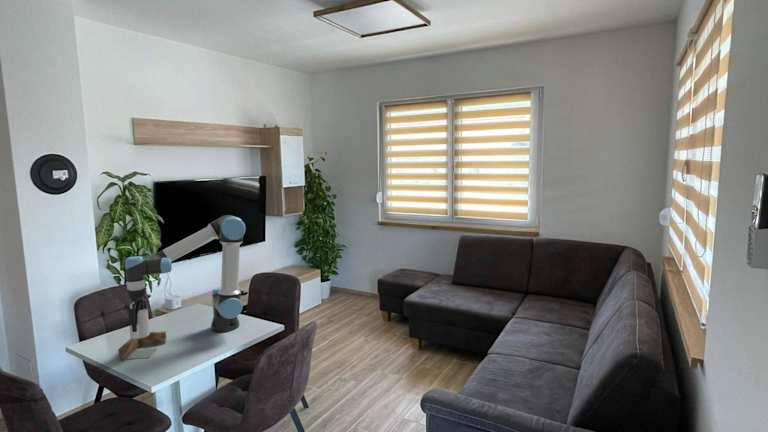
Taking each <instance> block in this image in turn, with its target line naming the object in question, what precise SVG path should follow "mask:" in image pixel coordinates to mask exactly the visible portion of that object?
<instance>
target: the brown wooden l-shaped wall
mask: <svg viewBox="0 0 768 432" xmlns="http://www.w3.org/2000/svg"><path fill="white" fill-rule="evenodd" d="M166 331H167V330H163V331H150V335H148V336H147V337H144V338H140V339H132V338H131V337H130V339H128V340H127V341H126V342H125V343H124V344H123V345H121V346H120V347H119V348H118V350H117V351H118V359H119V361H118V362H125V361H126V360H127V358H128V357H129V356H130V355H131V354H132V353H133V352H134V351H135V350H138V348H139V347H140V346H148V345H151V346H152V345H162V344H164V345H165V344H166V343H168V342H167V341H168V340H167V332H166Z"/></svg>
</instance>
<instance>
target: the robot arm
mask: <svg viewBox="0 0 768 432" xmlns="http://www.w3.org/2000/svg"><path fill="white" fill-rule="evenodd" d="M245 233H246V224H245V222H244V221H243V220H242V219H241V218H240V217H238V216H234V215H232V214H225V215H222V216H221V217H219V218H217V219H215V220H213V221H212V222H210V223H208V224H207V226H206V227H204V228H202V229H200V230H199V231H197V232H194V233H193V234H191V235H189V236H187V237H185V238H183V239H182V240H179V241H177V242H176V243H173V244H172V245H170V246H168V247H165V248H164V249H162V250H160V251H158V252H154V253H152V254H150V255H149V256H148V257H147V259H144V256H142V255H137V256H136V255H135V256H130V257H129V256H128V257H127V258H126V259H125V261H124V265H125V268H124V269H125V270H124V271H125V278H126V279H125V280H126V283H125V284H126V289H127V298H128V299H131V302H130V303H129V304H128V306H127V307H128V325H129V326H130V325H132V336H133V338H139V326H138V324H137V321H138V316H137V314H138V312H139V310H144V309H147V310H148V304H147V296H146V295H147V294H146V291H147V290H146V280H145V279H146V278H145V276H150V275H151V276H152V275H153V276H154V275H159V274H160V275H161V274H168V273H171V271H172V262H173V261H176V260H177V259H179V258H182V257H183V256H185V255H187V254H188V253H190V252H192V251H194V250H196V249H198V248H200V247H202V246H204V245H205V244H208V243H209V242H211V241H213V240H219V243H220V244H221V245H222V253H221V254H222V256H221V257H222V258H221V260H222V261H221V278H220V279H221V284H220V286H221V287H217V288H214V289H212V290H211V291H212V292H211V296H212V310H213V311H212V312H213V317H212V320H211V324H210V330H211V331H212V332H215V333H226V332H230V331H234V330H236V329H238V328H239V327H240V320H239V317H238V316H239V315H240V314H241V313H242V311H243V302H242V300H241V299H242V298H241V296H242V291H241V290H240V289H239V276H240V275H239V274H240V273H239V271H240V269H239V268H240V250H241V249H240V245H241V244H242V243H243V241H244V235H245Z"/></svg>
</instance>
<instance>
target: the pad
mask: <svg viewBox="0 0 768 432" xmlns="http://www.w3.org/2000/svg"><path fill="white" fill-rule="evenodd" d="M157 350H158V348H148V349H147V348H145V349H136V350H135V351H134V352H133V353H132V354H131V355H130V356H129V357H128V358H127V359H126V360H141V359H149V358H150V357H151V356H152V355H153V354H154V353H155V352H156V351H157Z"/></svg>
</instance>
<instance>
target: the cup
mask: <svg viewBox="0 0 768 432" xmlns="http://www.w3.org/2000/svg"><path fill="white" fill-rule="evenodd" d="M137 316H138V321H137V324H138V326H139V338H133V336H132V325H129V335H130V336H129V337H130V339H131V338H132V339H140V338H144V337H147V336H148V335H150V332H151V331H150V321H149V310H148V308H147V309H144V310H139V312H138V314H137Z"/></svg>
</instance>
